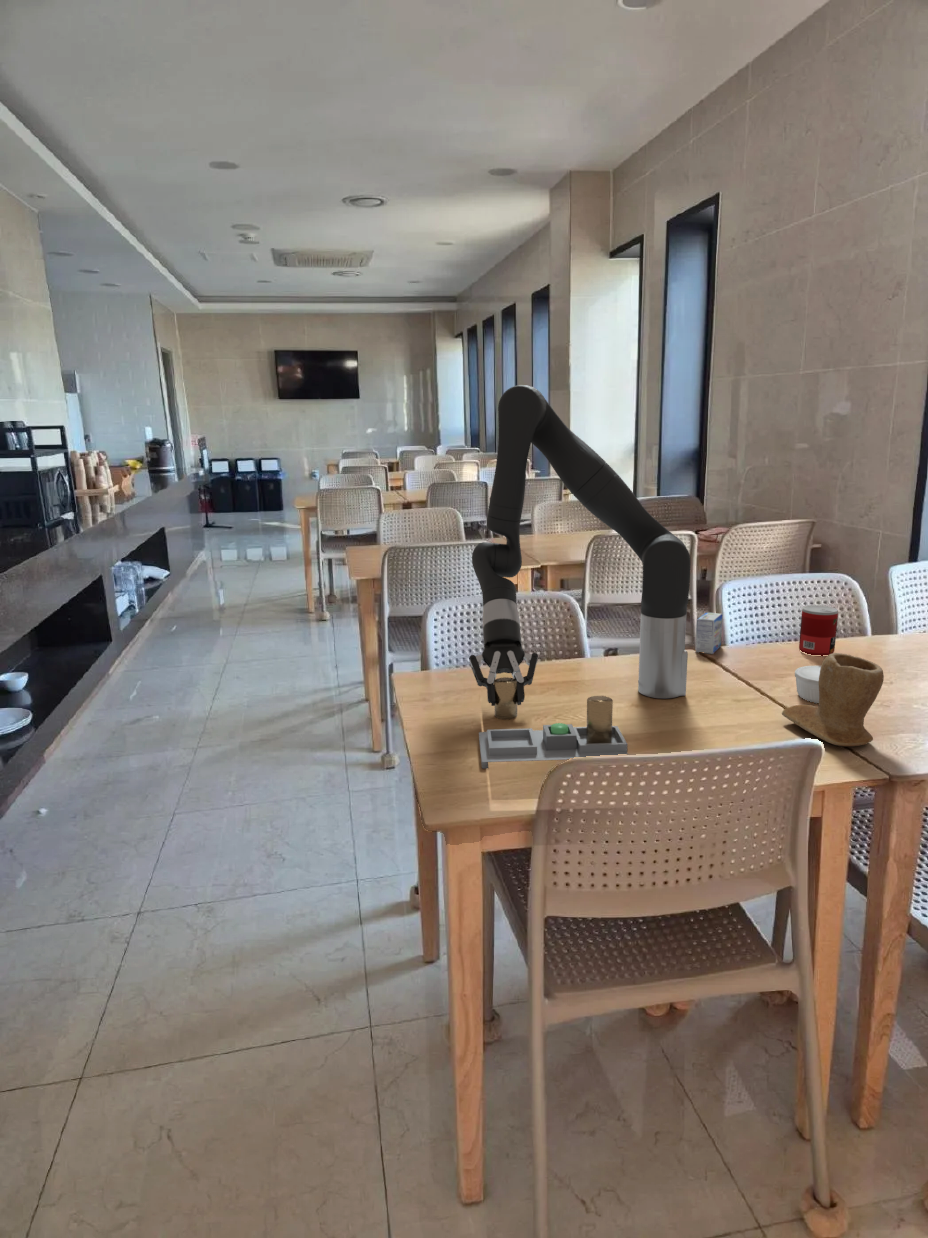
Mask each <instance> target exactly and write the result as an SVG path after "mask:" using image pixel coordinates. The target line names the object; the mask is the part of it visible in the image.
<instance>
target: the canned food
mask: <svg viewBox="0 0 928 1238" xmlns="http://www.w3.org/2000/svg"><path fill="white" fill-rule="evenodd" d="M800 618H801V619H800V628H799V629H800V630H799V642H798V643H799V644H798V649H799V651H800V650H801V651H802V652H805V653H807V654H811V655H821V656H822V657H824V656H823V655H829V654H832V653H835V648H836V647H835V646H836V639H837V629H838V620H839V619H838V618H839V609H838V608H836V607H833V606H828V605H820V604H819V605H816V604H815V605H814V604H813V605H812V604H810V605H806V606H803V607H802V609H801V617H800ZM811 655H810V656H811ZM821 656H820V657H821Z"/></svg>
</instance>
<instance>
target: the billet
mask: <svg viewBox="0 0 928 1238" xmlns="http://www.w3.org/2000/svg"><path fill="white" fill-rule="evenodd" d="M494 687H495V706H494V718H497V719H499V720H508V721H509V720H512V719H513V720H514V719H516V718H517V717H518V705H517V680H516V679H514V678H513V677H508V676H507V677H498V678H495V680H494Z"/></svg>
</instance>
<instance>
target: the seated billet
mask: <svg viewBox="0 0 928 1238" xmlns="http://www.w3.org/2000/svg"><path fill="white" fill-rule="evenodd" d="M613 703H614V700H613V699H612V698H611V697H609V696H606V695H592V696H589V697H588V698H587V699H586V727H587V736H586V743H587V744H598V743H612V726H613V709H614V708H613V705H614V704H613Z"/></svg>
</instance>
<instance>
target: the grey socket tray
mask: <svg viewBox="0 0 928 1238" xmlns="http://www.w3.org/2000/svg"><path fill="white" fill-rule="evenodd" d="M565 724H566V723H565ZM551 725H552V724H543V725H542V730H539V729H537V730H536V729H535V730H534V729H533V728H532V727H531V728H501V729H486V731H479V732H478V741H479V751H480V761H481V769H489V763H497V762H499V763H501V762H530V761H531V762H534V761H564V760H565V761H567V759H570V758H574V757H586V756H600V755H618V754H628V755H629V753H628V742H627V740H626V739H625V737H624V736H623V734H622V731H621V730H620V728H619V726H618V725H612V743H598V744H587V743H586V736H587V726H574V725H573V724H572V723H569V724H568V723H567V724H566V725H568V734H551Z"/></svg>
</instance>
